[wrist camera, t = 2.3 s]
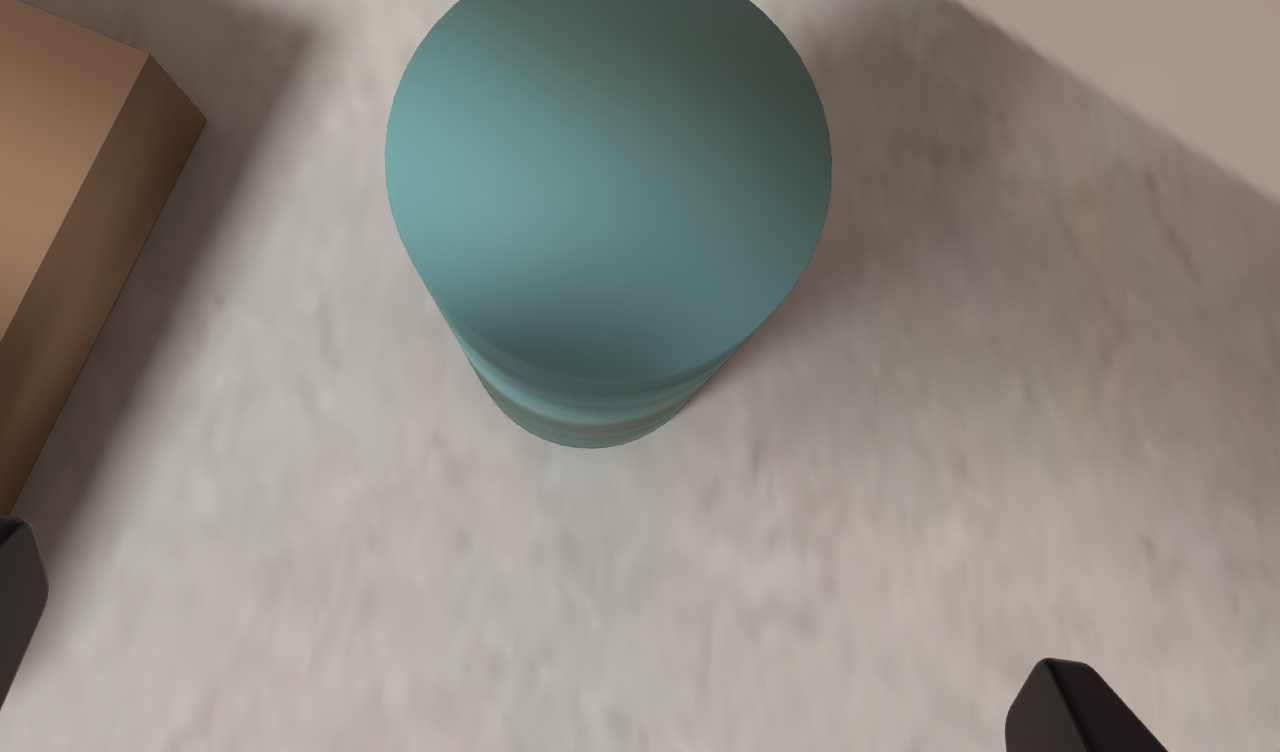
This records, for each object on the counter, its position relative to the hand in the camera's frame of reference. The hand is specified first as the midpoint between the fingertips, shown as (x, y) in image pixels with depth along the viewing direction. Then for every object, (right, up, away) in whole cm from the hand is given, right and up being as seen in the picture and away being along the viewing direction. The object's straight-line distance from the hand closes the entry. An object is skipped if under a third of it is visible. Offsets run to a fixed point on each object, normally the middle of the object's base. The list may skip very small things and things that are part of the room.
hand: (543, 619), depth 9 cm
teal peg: (0, +3, +12) cm, 13 cm away
